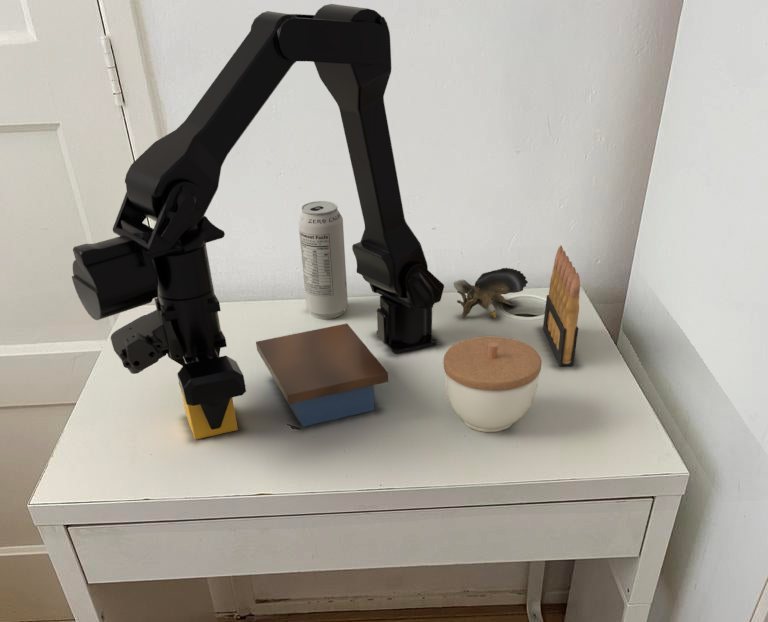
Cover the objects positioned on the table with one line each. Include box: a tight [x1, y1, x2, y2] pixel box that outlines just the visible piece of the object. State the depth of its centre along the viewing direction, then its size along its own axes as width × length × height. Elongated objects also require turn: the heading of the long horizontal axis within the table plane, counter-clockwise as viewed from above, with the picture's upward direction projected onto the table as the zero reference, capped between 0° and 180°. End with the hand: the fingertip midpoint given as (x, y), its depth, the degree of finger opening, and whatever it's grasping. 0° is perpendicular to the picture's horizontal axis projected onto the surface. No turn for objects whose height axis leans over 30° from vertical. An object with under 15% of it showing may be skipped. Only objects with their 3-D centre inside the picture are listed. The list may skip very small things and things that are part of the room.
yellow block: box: [179, 387, 239, 440], centre depth 90 cm, size 5×5×5 cm
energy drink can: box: [297, 200, 349, 320], centre depth 109 cm, size 6×6×15 cm
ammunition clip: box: [542, 245, 581, 367], centre depth 100 cm, size 11×2×12 cm, turn 3°
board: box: [255, 323, 389, 405], centre depth 93 cm, size 12×14×1 cm
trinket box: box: [442, 336, 542, 433], centre depth 88 cm, size 11×11×9 cm
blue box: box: [288, 385, 375, 428], centre depth 95 cm, size 9×12×4 cm
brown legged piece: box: [453, 267, 529, 319], centre depth 111 cm, size 8×7×9 cm
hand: (210, 416), depth 91 cm, fingers closed on yellow block, 5 cm apart
